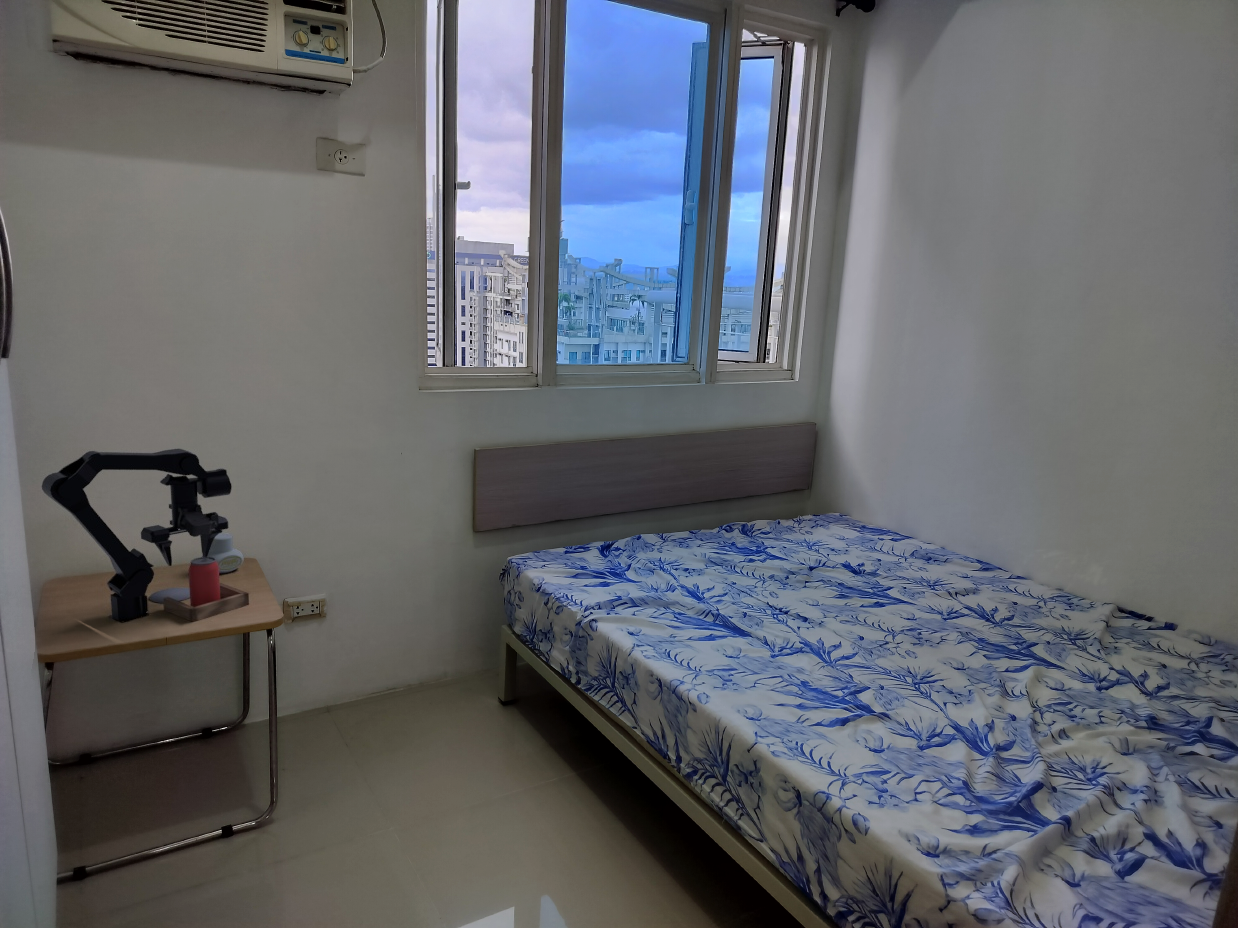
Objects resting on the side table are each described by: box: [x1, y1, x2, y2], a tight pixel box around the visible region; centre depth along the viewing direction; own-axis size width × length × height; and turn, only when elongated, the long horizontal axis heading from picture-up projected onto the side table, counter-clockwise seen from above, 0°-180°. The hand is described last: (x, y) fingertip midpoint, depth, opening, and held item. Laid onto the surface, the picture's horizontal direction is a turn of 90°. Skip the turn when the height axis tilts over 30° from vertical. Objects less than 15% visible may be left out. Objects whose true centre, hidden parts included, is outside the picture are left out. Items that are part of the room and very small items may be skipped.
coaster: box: [149, 587, 190, 604], centre depth 200 cm, size 10×10×1 cm
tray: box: [163, 582, 250, 623], centre depth 194 cm, size 14×12×3 cm
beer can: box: [188, 556, 221, 607], centre depth 194 cm, size 7×7×12 cm
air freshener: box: [201, 532, 245, 574], centre depth 220 cm, size 11×8×10 cm
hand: (187, 561), depth 195 cm, fingers open, 8 cm apart
